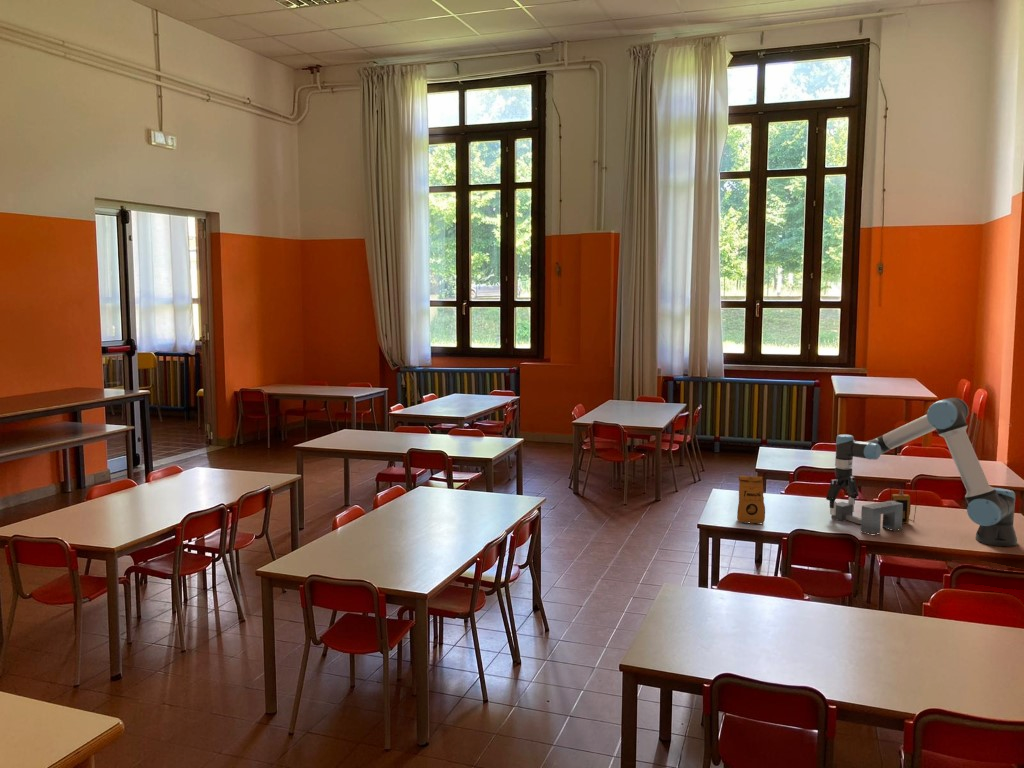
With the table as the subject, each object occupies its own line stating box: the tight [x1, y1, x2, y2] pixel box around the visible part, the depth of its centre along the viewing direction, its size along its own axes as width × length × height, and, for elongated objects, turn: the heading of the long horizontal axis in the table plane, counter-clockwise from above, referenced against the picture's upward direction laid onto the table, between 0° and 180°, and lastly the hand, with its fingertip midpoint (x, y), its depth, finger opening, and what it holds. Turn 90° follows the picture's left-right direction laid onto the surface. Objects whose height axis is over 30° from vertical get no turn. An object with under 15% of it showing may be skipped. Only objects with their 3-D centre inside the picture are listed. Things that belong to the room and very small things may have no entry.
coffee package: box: [736, 475, 766, 524], centre depth 371 cm, size 10×12×22 cm
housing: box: [860, 499, 903, 535], centre depth 357 cm, size 6×19×12 cm, turn 116°
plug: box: [830, 501, 861, 525], centre depth 371 cm, size 20×7×7 cm, turn 26°
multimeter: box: [889, 480, 918, 524], centre depth 372 cm, size 15×10×20 cm
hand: (841, 513), depth 377 cm, fingers open, 11 cm apart
